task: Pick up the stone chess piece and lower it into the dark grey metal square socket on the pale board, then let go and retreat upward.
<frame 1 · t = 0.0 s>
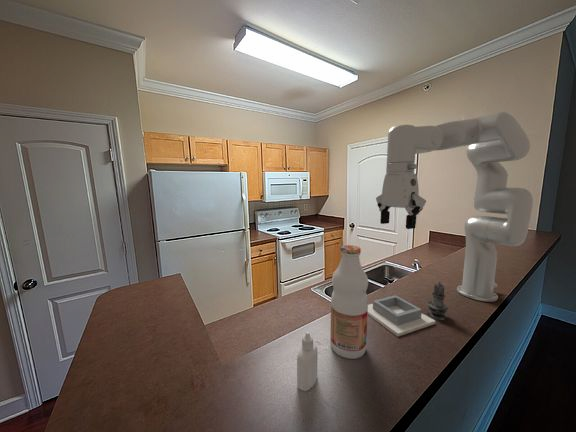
hand: (396, 225, 70), 31 cm above the countertop, fingers open, 9 cm apart
socket: (395, 316, 76), on the countertop
fruit juice: (347, 347, 62), on the countertop
eye dropper bottle: (307, 382, 51), on the countertop
stone chess piece: (436, 316, 76), on the countertop
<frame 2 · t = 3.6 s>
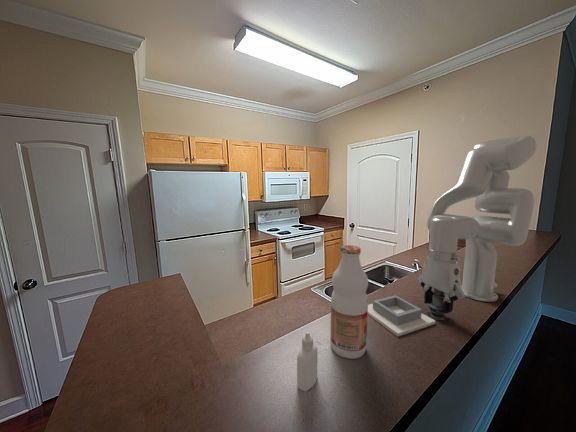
hand: (437, 306, 76), 3 cm above the countertop, fingers closed on stone chess piece, 5 cm apart
stone chess piece: (436, 316, 76), on the countertop, touching gripper
everything else where it was.
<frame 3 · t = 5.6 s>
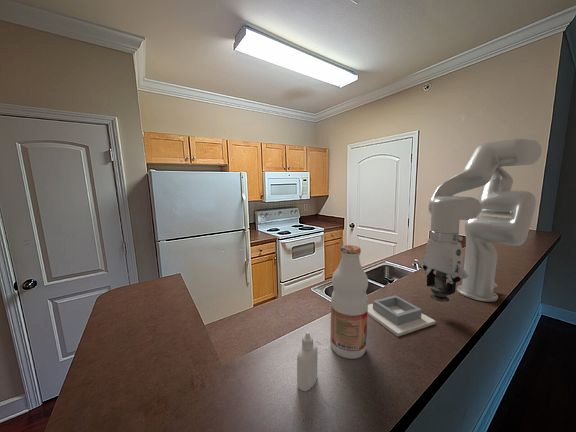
hand: (440, 289, 76), 9 cm above the countertop, fingers closed on stone chess piece, 5 cm apart
stone chess piece: (439, 298, 76), point 6 cm above the countertop, touching gripper
everything else where it was.
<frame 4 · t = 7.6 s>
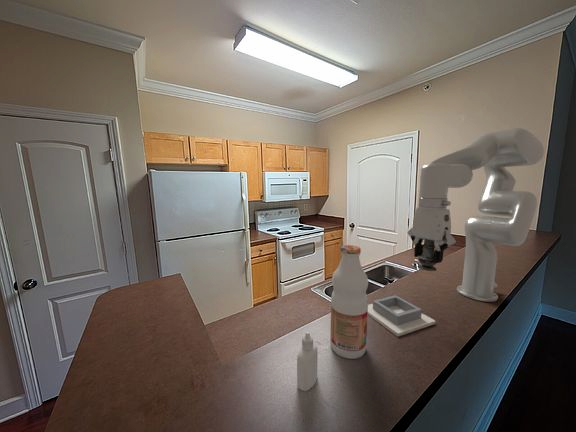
hand: (427, 258, 74), 20 cm above the countertop, fingers closed on stone chess piece, 5 cm apart
stone chess piece: (426, 268, 74), point 17 cm above the countertop, touching gripper
everything else where it was.
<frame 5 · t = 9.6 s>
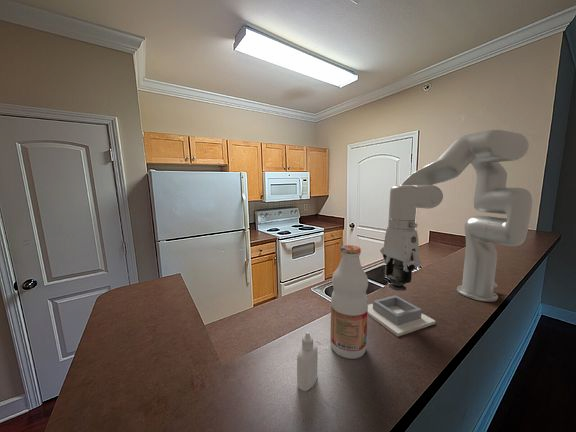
hand: (397, 278, 74), 13 cm above the countertop, fingers closed on stone chess piece, 5 cm apart
stone chess piece: (397, 287, 75), point 10 cm above the countertop, touching gripper
everything else where it was.
when the fingers open (5 cm above the countertop, at t = 11.4 s): stone chess piece drops 1 cm, resting on socket.
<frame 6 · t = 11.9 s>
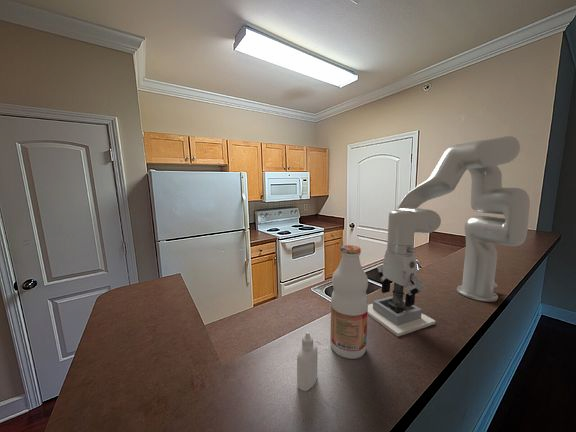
hand: (396, 298, 75), 6 cm above the countertop, fingers open, 9 cm apart
stone chess piece: (396, 313, 76), point 1 cm above the countertop, touching socket
everything else where it was.
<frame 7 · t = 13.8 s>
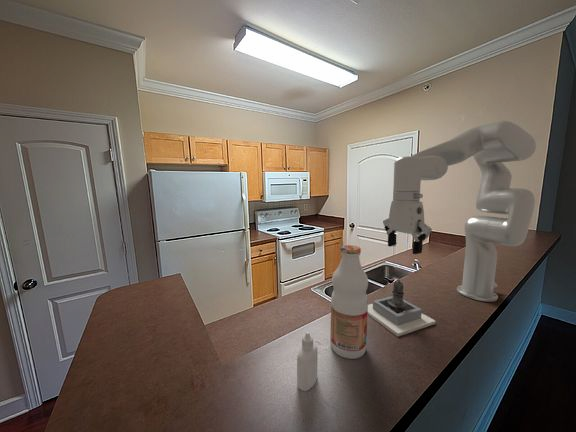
hand: (403, 249, 74), 23 cm above the countertop, fingers open, 9 cm apart
nothing on the countertop moved.
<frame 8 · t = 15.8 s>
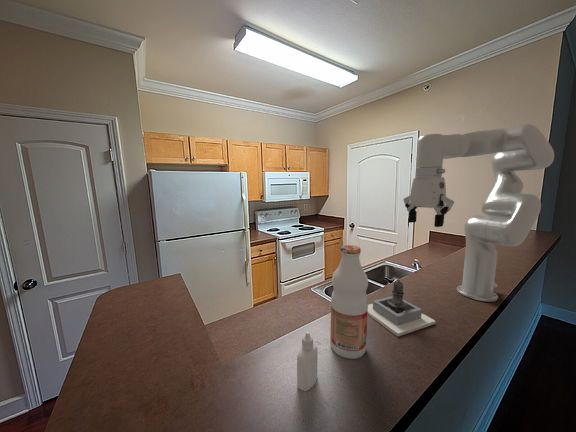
hand: (424, 224, 78), 30 cm above the countertop, fingers open, 9 cm apart
nothing on the countertop moved.
at the end: stone chess piece 0.2 cm off-centre on the socket, point 0.8 cm above the socket's base; stone chess piece tilted 0°; the gripper is holding nothing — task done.
